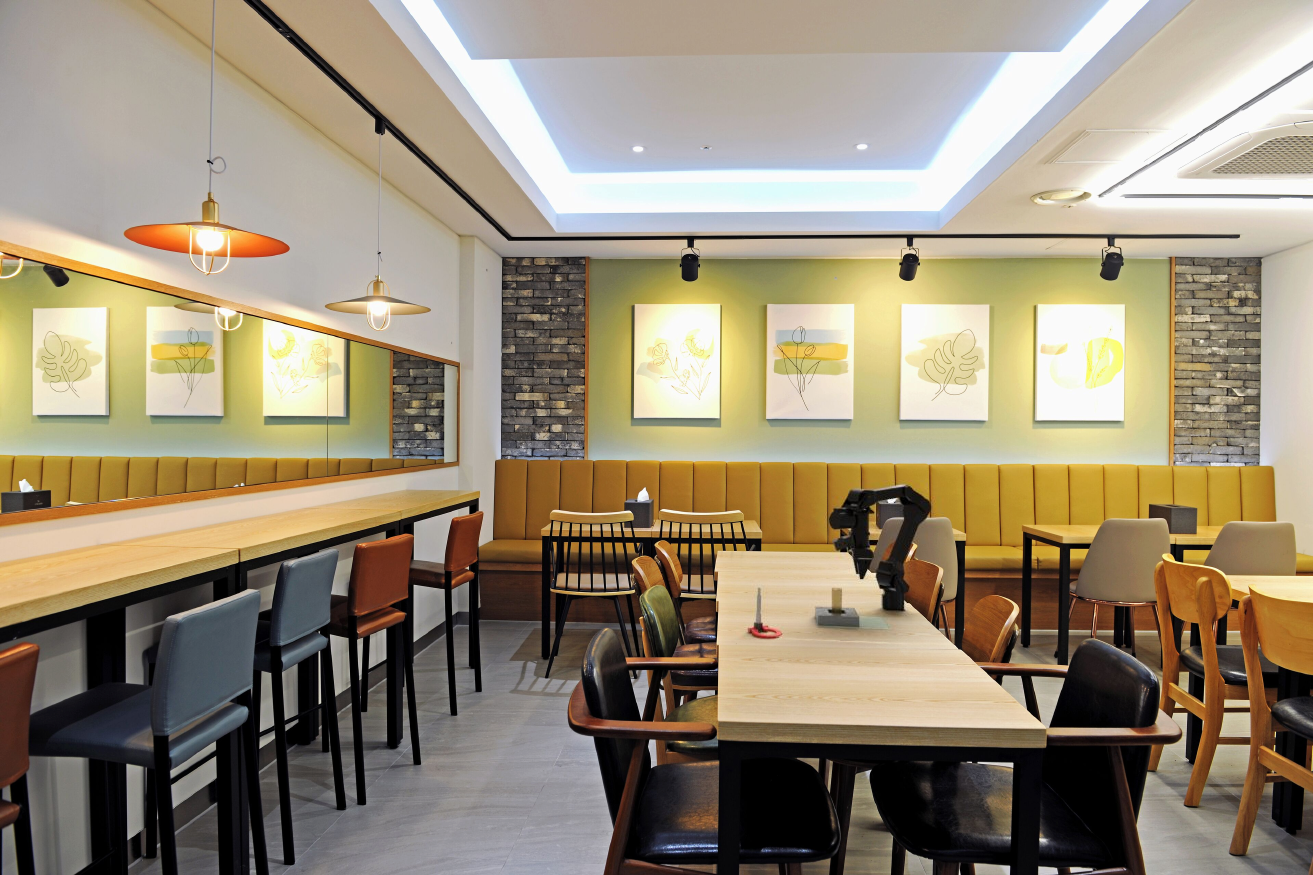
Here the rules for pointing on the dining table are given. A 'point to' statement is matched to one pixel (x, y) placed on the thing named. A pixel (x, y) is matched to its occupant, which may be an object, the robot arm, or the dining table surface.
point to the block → (836, 617)
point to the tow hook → (759, 625)
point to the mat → (868, 623)
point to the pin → (837, 600)
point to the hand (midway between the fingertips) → (859, 576)
